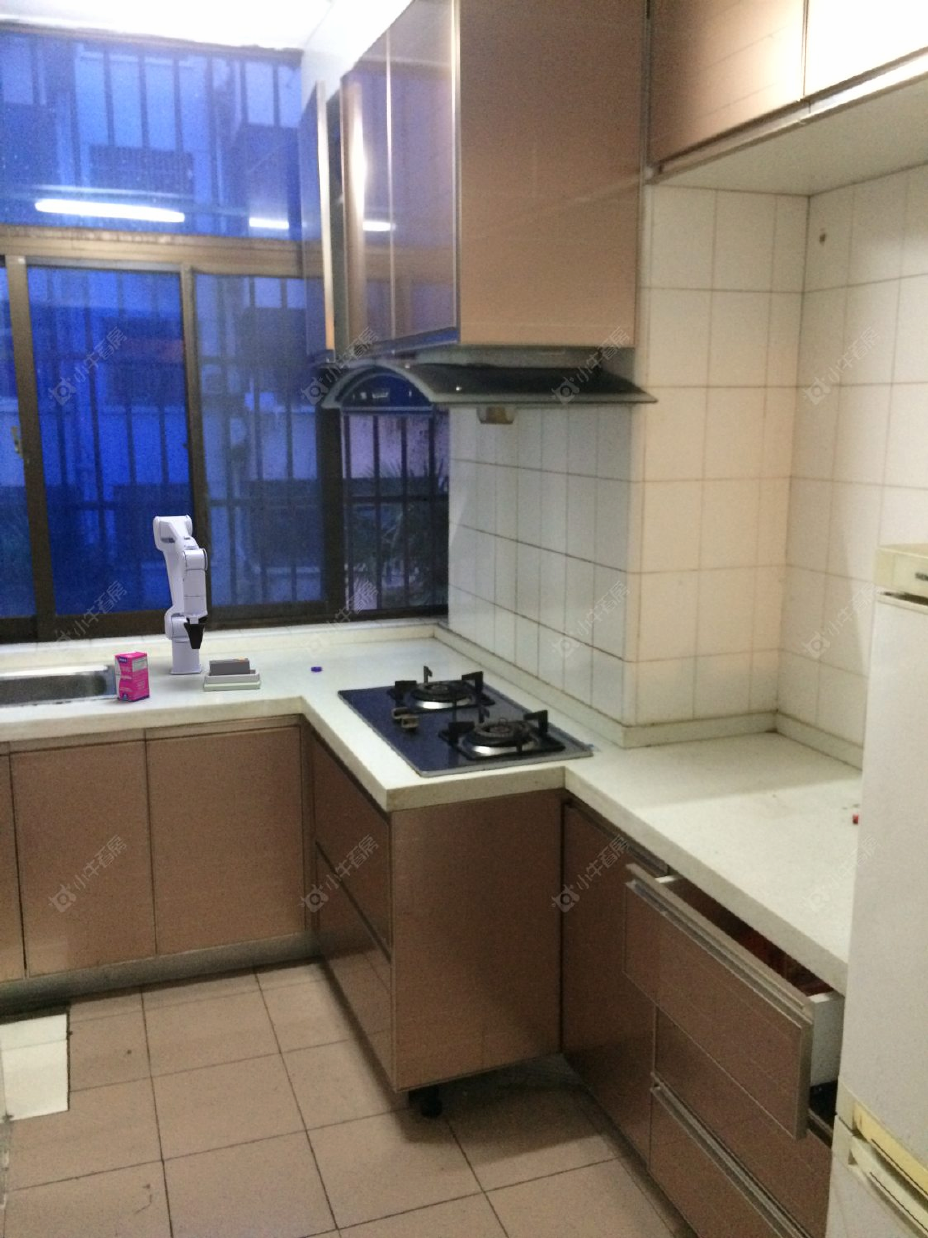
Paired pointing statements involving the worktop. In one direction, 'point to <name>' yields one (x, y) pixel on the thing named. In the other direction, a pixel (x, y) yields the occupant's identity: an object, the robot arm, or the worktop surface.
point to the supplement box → (132, 676)
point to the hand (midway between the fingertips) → (196, 646)
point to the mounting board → (233, 681)
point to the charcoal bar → (229, 667)
